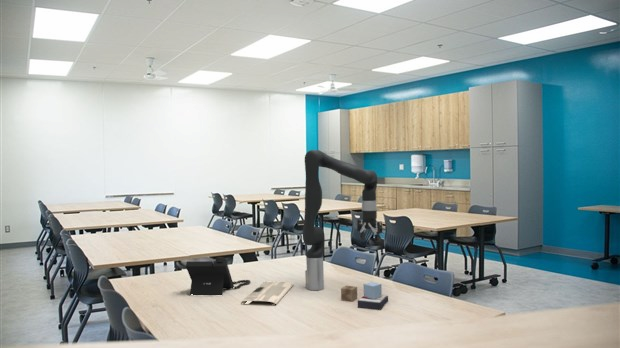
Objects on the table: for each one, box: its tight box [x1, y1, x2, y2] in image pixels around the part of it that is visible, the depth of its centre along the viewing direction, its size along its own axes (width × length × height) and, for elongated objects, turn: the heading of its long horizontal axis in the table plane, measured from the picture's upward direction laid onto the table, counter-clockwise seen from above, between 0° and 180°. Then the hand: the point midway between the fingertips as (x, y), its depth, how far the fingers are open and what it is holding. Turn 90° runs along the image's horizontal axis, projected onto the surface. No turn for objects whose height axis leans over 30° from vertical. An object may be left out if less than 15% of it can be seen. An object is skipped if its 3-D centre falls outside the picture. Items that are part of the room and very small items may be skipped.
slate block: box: [363, 281, 383, 299], centre depth 215 cm, size 6×6×6 cm
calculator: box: [357, 294, 389, 311], centre depth 215 cm, size 11×4×15 cm
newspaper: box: [240, 280, 294, 307], centre depth 236 cm, size 37×19×3 cm, turn 169°
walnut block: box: [340, 285, 358, 303], centre depth 224 cm, size 6×6×6 cm
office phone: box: [185, 256, 251, 296], centre depth 250 cm, size 29×28×20 cm
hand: (369, 240), depth 231 cm, fingers open, 8 cm apart
